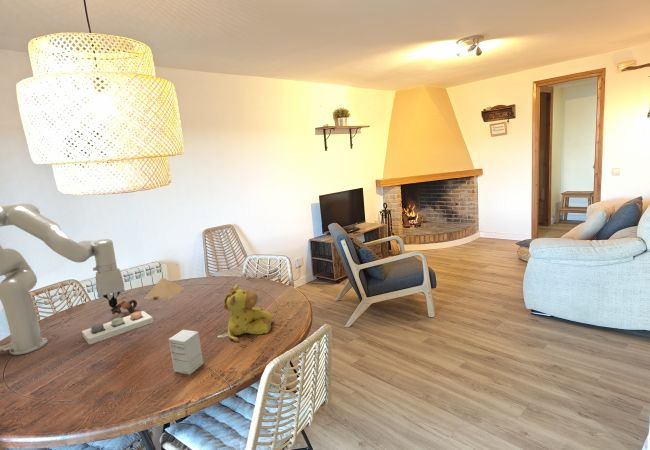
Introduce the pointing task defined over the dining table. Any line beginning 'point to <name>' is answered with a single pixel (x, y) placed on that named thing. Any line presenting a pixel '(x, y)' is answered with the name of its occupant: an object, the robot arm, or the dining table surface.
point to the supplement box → (186, 351)
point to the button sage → (117, 322)
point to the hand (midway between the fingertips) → (113, 306)
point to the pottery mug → (125, 307)
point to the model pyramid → (164, 290)
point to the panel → (116, 328)
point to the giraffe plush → (245, 314)
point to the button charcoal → (97, 328)
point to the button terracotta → (136, 316)
